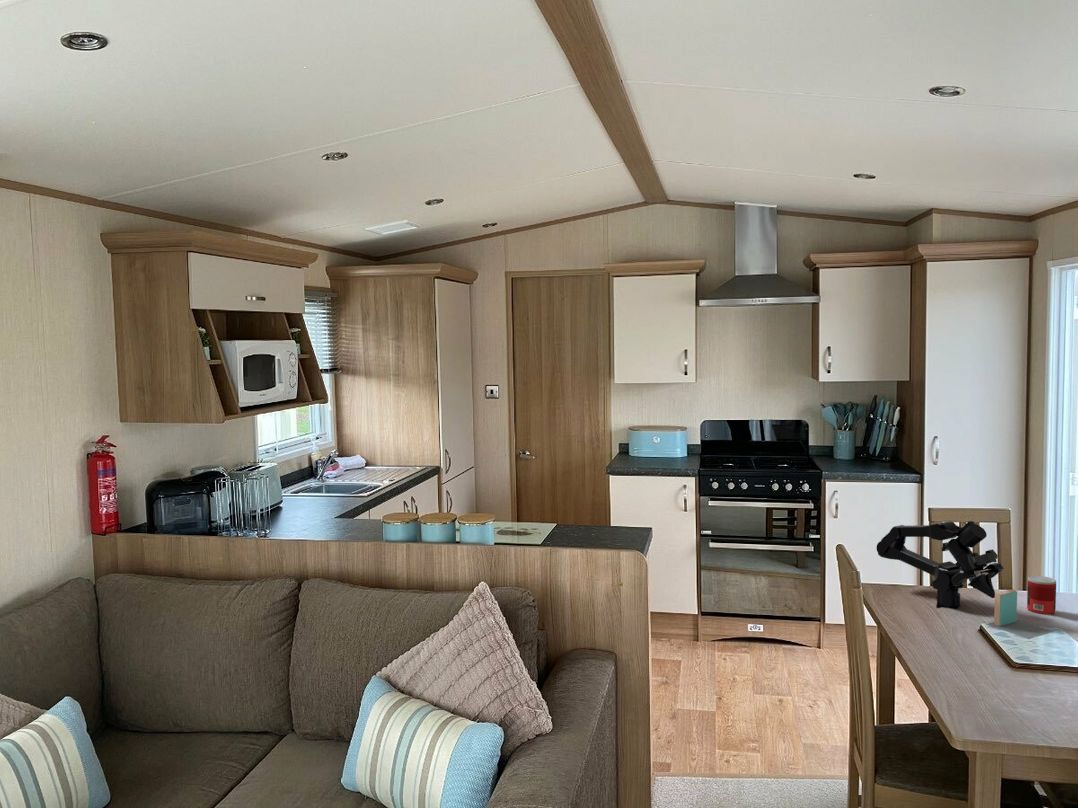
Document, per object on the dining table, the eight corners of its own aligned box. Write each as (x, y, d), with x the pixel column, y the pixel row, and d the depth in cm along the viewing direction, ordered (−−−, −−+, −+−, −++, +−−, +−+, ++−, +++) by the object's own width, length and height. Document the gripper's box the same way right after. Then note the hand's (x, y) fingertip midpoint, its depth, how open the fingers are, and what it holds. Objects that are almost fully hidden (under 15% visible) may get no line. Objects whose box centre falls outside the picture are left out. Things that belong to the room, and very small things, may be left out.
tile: (994, 624, 261) (994, 593, 260) (1010, 620, 265) (1011, 589, 264) (1000, 626, 259) (1001, 595, 258) (1016, 622, 263) (1017, 591, 262)
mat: (985, 625, 262) (985, 624, 262) (1010, 619, 267) (1010, 617, 267) (1028, 640, 249) (1028, 638, 249) (1053, 633, 254) (1054, 631, 254)
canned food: (1060, 615, 269) (1061, 582, 268) (1035, 616, 269) (1036, 582, 269) (1046, 608, 277) (1047, 575, 276) (1022, 608, 277) (1023, 575, 276)
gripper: (960, 545, 264) (992, 589, 255) (998, 538, 272) (1031, 579, 263) (938, 564, 272) (968, 607, 263) (976, 556, 280) (1006, 597, 271)
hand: (994, 597), depth 265 cm, fingers closed
